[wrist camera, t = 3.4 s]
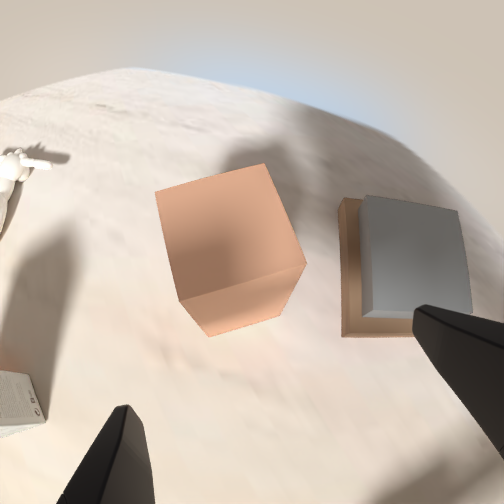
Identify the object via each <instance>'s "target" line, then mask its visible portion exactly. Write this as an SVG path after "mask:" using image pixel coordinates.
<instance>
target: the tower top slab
mask: <svg viewBox="0 0 504 504" xmlns="http://www.w3.org/2000/svg"><path fill="white" fill-rule="evenodd" d="M358 218H359V234H360V253H361V283H362V317H373V318H401V319H413V313H414V310H415V309H416V308H417V307H419V306H421V305H423V304H428V305H432V306H436V307H440V308H444V309H448V310H452V311H456V312H460V313H464V314H468V315H469V314H471V313H473V309H472V298H471V289H470V280H469V273H468V266H467V259H466V253H465V247H464V242H463V236H462V231H461V226H460V221H459V217H458V212H457V211H455V210H450V209H445V208H440V207H435V206H429V205H424V204H418V203H413V202H407V201H401V200H395V199H389V198H382V197H376V196H369V195H366V197H365V198H364V200H363V202H362V203H361V205H360V207H359V208H358Z"/></svg>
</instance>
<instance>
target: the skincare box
mask: <svg viewBox="0 0 504 504" xmlns="http://www.w3.org/2000/svg"><path fill="white" fill-rule="evenodd" d="M44 423H46V421H45V418H44V416H43V413H42V411H41V408H40V405H39V403H38V400H37V397H36V395H35V392H34V389H33V386H32V383H31V379H30V377H29V375H28V374H23V373H17V372H10V371H3V370H0V438H3V437H7V436H10V435H13V434H16V433H19V432H22V431H25V430H28V429H31V428H33V427H36V426H39V425H42V424H44Z"/></svg>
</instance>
